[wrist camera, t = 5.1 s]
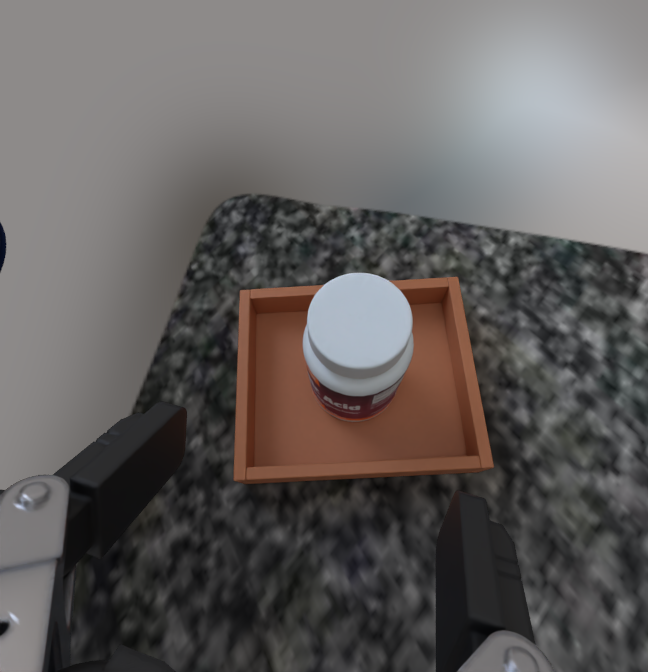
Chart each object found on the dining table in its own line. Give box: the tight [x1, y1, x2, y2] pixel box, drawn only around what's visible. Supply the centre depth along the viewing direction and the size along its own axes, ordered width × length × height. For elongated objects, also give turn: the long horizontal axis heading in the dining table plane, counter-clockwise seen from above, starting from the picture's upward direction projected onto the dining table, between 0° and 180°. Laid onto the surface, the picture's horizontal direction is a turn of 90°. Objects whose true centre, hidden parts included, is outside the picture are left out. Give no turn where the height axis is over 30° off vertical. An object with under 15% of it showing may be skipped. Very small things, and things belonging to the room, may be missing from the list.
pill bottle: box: [303, 273, 414, 422], centre depth 20 cm, size 5×5×8 cm
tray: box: [234, 277, 494, 484], centre depth 23 cm, size 12×10×2 cm
